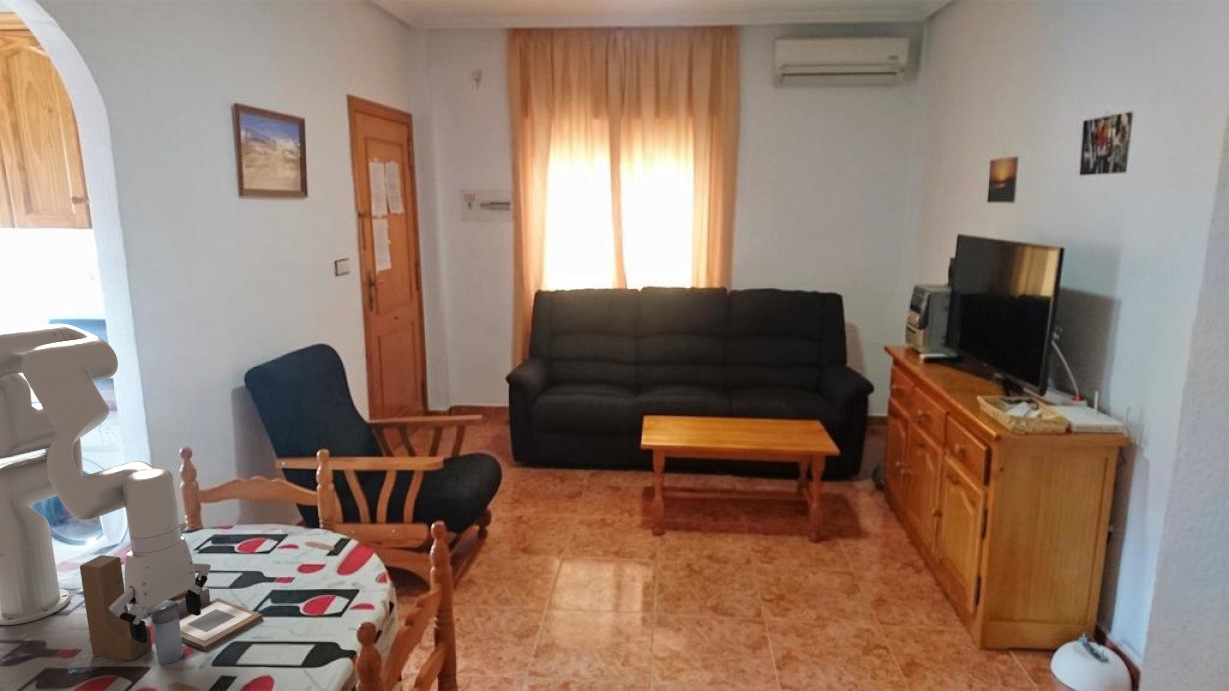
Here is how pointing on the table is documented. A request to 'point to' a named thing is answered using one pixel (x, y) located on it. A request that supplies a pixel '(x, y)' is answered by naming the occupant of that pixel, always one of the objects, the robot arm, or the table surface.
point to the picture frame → (215, 623)
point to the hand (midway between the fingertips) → (168, 626)
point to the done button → (178, 596)
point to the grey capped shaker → (167, 632)
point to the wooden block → (104, 627)
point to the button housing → (182, 601)
